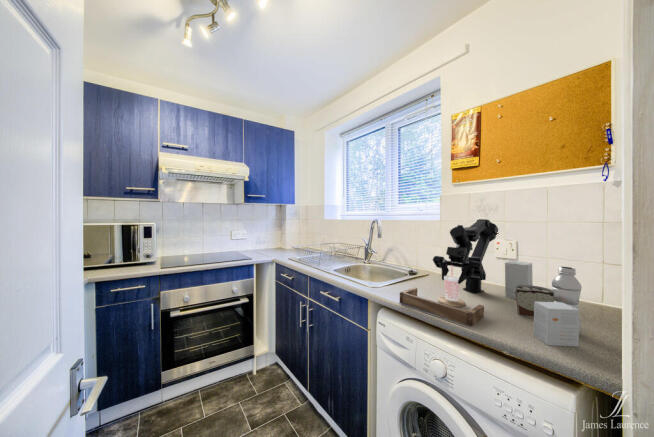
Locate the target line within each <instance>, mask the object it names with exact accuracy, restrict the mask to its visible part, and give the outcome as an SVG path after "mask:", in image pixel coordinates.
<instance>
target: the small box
mask: <svg viewBox="0 0 654 437" xmlns="http://www.w3.org/2000/svg"><path fill="white" fill-rule="evenodd" d="M578 309H579V308H578ZM578 309H576V308H574V307H572V306H569V305H567V304H565V303H562V302H534V317H533V336H534V337H536V338H537V340H540V341H541V342H543V343H544V344H545V345H548V346H554V347H555V346H557V347H560V346H561V347H575V348H576V347H579V345H580V332H579V319H580V309H579V310H578Z"/></svg>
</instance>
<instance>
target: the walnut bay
mask: <svg viewBox="0 0 654 437" xmlns="http://www.w3.org/2000/svg"><path fill="white" fill-rule="evenodd" d="M399 303H401V304H405V305H407V306H411V307H413V308H416V309H420V310H421V311H425V312H428V313H431V314H435V315H437V316H440V317H441V318H446V319H448V320H452V321H455V322H457V321H458V323H460V324H463V325H467V326H469V327H472V326H474V325H475V324H476V323H478V322H479V321H481V320H482V319H483V318H484V317H485V316H484V314H485V313H484V312H485V305H482V304H478V305H476V306H475V307H473V308H471V309H470V310H465V309H462V308H460V307H452V306H448V305H445V304H442V303H440V302H439V301H434V300H432V299H431V300H430V299H427V298H424V297H421V296H418V288H417V287H415V286H414V287H411V288H408V289H406V290H403V291H400V292H399Z"/></svg>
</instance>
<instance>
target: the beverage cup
mask: <svg viewBox="0 0 654 437" xmlns="http://www.w3.org/2000/svg"><path fill="white" fill-rule="evenodd" d="M453 274H454V266H453V265H452V266H451V275H447V276H444V292H445V293H444V294H445V296H444V297H446V299H447V300H449V301H458V299H459V293H460V284H458V280H459V277H460V276H456V275H453Z"/></svg>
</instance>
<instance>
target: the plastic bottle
mask: <svg viewBox="0 0 654 437" xmlns="http://www.w3.org/2000/svg"><path fill="white" fill-rule="evenodd" d="M557 273H558V275H557V276H555V277H554V278H553V279H552V282H551V287H552V288H551V289H552V290H553V294H554V302H562V303H565V304H567V305H569V306H572V307H574V308H576V309H578V310H579V311H580V309H579V303H580V297H581V292H582V289H583V288H582V284H581V283H580V281H579V280H578V279H577V277H575V276H576V275H577V272H576V268H575V267H572V266H571V267H570V266H558V271H557ZM581 330H582V322H581V320H580V318H579V333H581Z"/></svg>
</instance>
